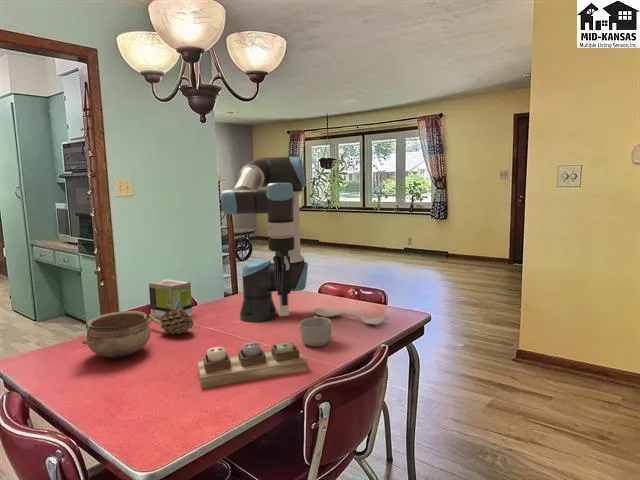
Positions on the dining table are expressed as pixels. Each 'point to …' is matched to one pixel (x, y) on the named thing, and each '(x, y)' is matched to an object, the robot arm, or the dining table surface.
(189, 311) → the tea box
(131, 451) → the dining table surface
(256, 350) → the button three
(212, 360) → the button two
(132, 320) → the cooking pot
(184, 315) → the pine cone
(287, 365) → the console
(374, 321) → the spoon
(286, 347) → the button one
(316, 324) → the teacup
